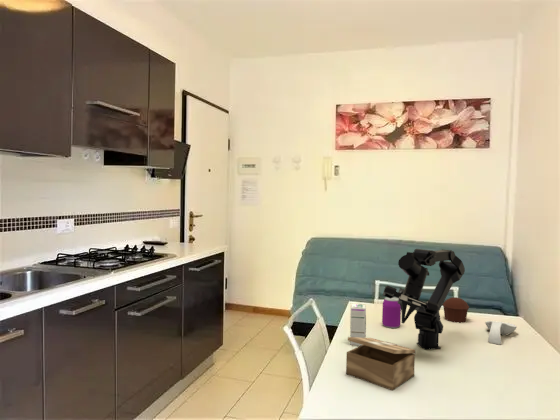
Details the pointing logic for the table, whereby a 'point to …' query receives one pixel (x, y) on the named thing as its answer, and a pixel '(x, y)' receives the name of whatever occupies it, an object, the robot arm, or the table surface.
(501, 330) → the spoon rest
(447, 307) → the muffin
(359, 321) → the syrup box
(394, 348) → the lid
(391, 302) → the beverage can
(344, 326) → the table surface
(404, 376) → the brown wooden box base
